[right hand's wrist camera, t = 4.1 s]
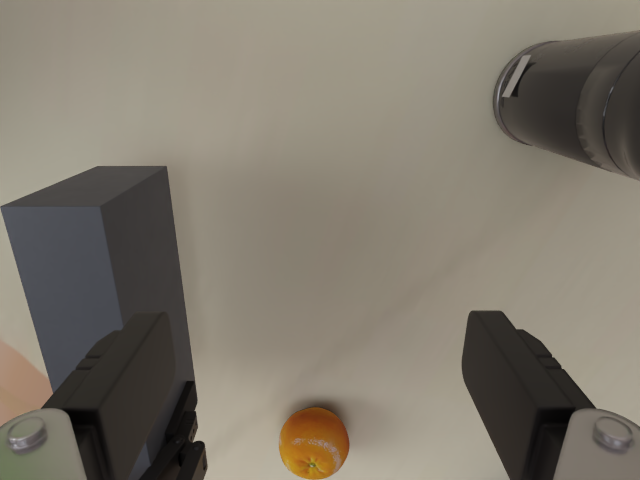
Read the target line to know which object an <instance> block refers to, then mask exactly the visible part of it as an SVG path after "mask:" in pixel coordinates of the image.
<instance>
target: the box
mask: <svg viewBox="0 0 640 480" xmlns="http://www.w3.org/2000/svg"><path fill="white" fill-rule="evenodd" d="M0 208H1V211H2V215H3V218H4V222H5V225H6V229H7V232H8V236H9V239H10V243H11V246H12V250H13V253H14V257H15V261H16V264H17V268H18V271H19V275H20V278H21V282H22V285H23V289H24V292H25V296H26V299H27V303H28V306H29V310H30V313H31V317H32V320H33V324H34V327H35V331H36V334H37V338H38V341H39V345H40V348H41V352H42V355H43V359H44V362H45V366H46V369H47V373H48V376H49V380H50V383H51V387H52V391H53V394H54V392H55V391H56V390H57V389H58V388H59V386H60V385H61V384H62V383H63V382H64V380H65V379H66V378H67V377H68V376H69V374H70V373H71V372H72V371H73V370H75V369H76V366H77V365H78V364H79V362H80V361H81V360H82V359H83V358H85V355H86V354H87V353H88V352H89V351H90V349H91V348H92V347H93V346H94V345H95V343H96V342H97V341H99V340H100V339H102V338H103V337H105V336H107V335H108V334H110V333H111V332H113V331H114V330H122V328H123V327H124V326H125V325H126V323H127V322H128V321H129V319H130V318H131V317H132V316H133V314H134V313H135V312H138V311H165V312H167V313H168V315H169V318H170V323H171V330H172V337H173V344H174V350H175V357H176V373H175V379H174V382H173V385H172V387H171V389H170V391H169V393H168V396H167V398H166V400H165V402H164V404H163V406H162V408H161V410H160V412H159V414H158V417H157V419H156V421H155V423H154V425H153V427H152V429H151V431H150V433H149V435H148V438H147V440H146V442H145V444H144V446H143V448H142V450H141V452H140V454H139V457H138V459H137V461H136V463H135V465H134V467H133V469H132V471H131V473H130V475H129V478H128V480H139V479H140V477H141V476H142V475H143V474H144V472H145V471H146V470H147V469H148V467H149V466H151V465H152V463H153V461H154V460H155V459H156V457H157V456H158V455H159V454H160V452H161V451H162V450H163V449H164V447H165V446H166V445H167V443H166V438H165V431H166V428H167V426H168V424H169V421H170V419H171V417H172V415H173V412H174V410H175V408H176V405H177V403H178V401H179V398H180V396H181V394H182V391H183V389H184V387H185V384H186V382H187V381H195V377H194V370H193V362H192V354H191V347H190V339H189V332H188V324H187V316H186V309H185V301H184V294H183V286H182V279H181V271H180V263H179V256H178V248H177V241H176V233H175V225H174V218H173V210H172V203H171V195H170V188H169V180H168V172H167V166H97V167H94V168H92V169H90V170H87V171H85V172H82V173H80V174H78V175H75V176H73V177H70V178H68V179H66V180H63V181H61V182H58V183H56V184H54V185H51V186H49V187H46V188H44V189H42V190H39V191H37V192H34V193H32V194H29V195H27V196H25V197H22V198H20V199H17V200H15V201H13V202H10V203H8V204H5V205H3V206H1V207H0ZM195 388H196V385H195ZM196 396H197V392H196ZM197 401H198V400H197Z"/></svg>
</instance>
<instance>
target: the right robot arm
mask: <svg viewBox="0 0 640 480" xmlns="http://www.w3.org/2000/svg"><path fill="white" fill-rule="evenodd" d="M493 107H494V114H495V117H496V120H497V122H498V124H499V126H500V128H501V129H502V130H503V132H504V133H505V134H506V135H508V136H509V137H510V138H512V139H513V140H515V141H518V142H520V143H523V144H526V145H531V146H536V147H538V148H541V149H544V150H547V151H550V152H553V153H556V154H559V155H562V156H565V157H568V158H571V159H574V160H577V161H580V162H583V163H586V164H589V165H592V166H595V167H598V168H601V169H604V170H607V171H610V172H614V173H617V174H620V175H623V176H626V177H629V178H632V179H635V180H638V181H640V30H639V31H631V32H624V33H617V34H610V35H603V36H595V37H588V38H581V39H574V40H566V41H550V42H544V43H539V44H536V45H533V46H531V47H529V48H527V49H525V50H523V51H522V52H520V53H519V54H518V55H516V56H515V57H514V58H513V59H512V60H511V61H510V62H509V63H508V65H507V66H506V67H505V69H504V70H503V72H502V73H501V75H500V77H499V79H498V81H497V84H496V87H495V91H494V98H493ZM175 373H176V357H175V350H174V344H173V337H172V330H171V323H170V318H169V315H168V313H167V312H165V311H138V312H135V313H134V314H133V316H132V317H131V318H130V319H129V321H128V322H127V323H126V325H125V326H124V327H123V328H122V330H114V331H113V332H111V333H110V334H108V335H107V336H105V337H103V338H102V339H100V340H99V341H97V342H96V343H95V345H94V346H93V347H92V348H91V349H90V351H89V352H88V353H87V354H86V355H85V358H83V359H82V360H81V361H80V362H79V364H78V365H77V366H76V369H75V370H73V371H72V372H71V373H70V374H69V376H68V377H67V378H66V379H65V380H64V382H63V383H62V384H61V385H60V386H59V388H58V389H57V390H56V391H55V392H54V394H53V395H52V396H51V397H50V398H49V400H48V401H47V402H46V403H45V404H44V406H43V407H42V408H41V409H38V410H34V411H30V412H27V413H24V414H22V415H20V416H17V417H15V418H13V419H12V420H10V421H8V422H7V423H5V424H3V425H2V426H1V427H0V480H128V478H129V475H130V473H131V471H132V469H133V467H134V465H135V463H136V461H137V459H138V457H139V454H140V452H141V450H142V448H143V446H144V444H145V442H146V440H147V438H148V435H149V433H150V431H151V429H152V427H153V425H154V423H155V421H156V419H157V417H158V414H159V412H160V410H161V408H162V406H163V404H164V402H165V400H166V398H167V396H168V393H169V391H170V389H171V387H172V385H173V382H174V379H175ZM462 374H463V379H464V382H465V385H466V387H467V389H468V391H469V393H470V395H471V397H472V399H473V402H474V404H475V406H476V408H477V410H478V412H479V414H480V417H481V419H482V421H483V423H484V425H485V427H486V429H487V431H488V434H489V436H490V438H491V440H492V442H493V444H494V446H495V448H496V451H497V453H498V455H499V457H500V459H501V461H502V463H503V465H504V468H505V470H506V472H507V474H508V476H509V478H510V480H640V427H639V426H638V425H637V424H635V423H633V422H632V421H630V420H629V419H627V418H625V417H623V416H620V415H618V414H616V413H613V412H610V411H606V410H602V409H596V407H595V406H594V405H593V404H592V402H591V401H590V400H589V399H588V398H587V396H586V395H585V394H584V393H583V392H582V390H581V389H580V388H579V387H578V386H577V384H576V383H575V382H574V381H573V380H572V378H571V377H570V376H569V375H568V374H567V372H566V371H565V370H564V369H562V368H561V365H560V364H559V363H558V361H557V360H556V359H555V358H552V354H551V353H550V352H549V351H548V349H547V348H546V347H545V346H544V345H543V343H542V342H541V341H540V340H538V339H537V338H535V337H534V336H532V335H531V334H529V333H528V332H526V331H525V330H523V329H515V327H514V326H513V325H512V323H511V322H510V321H509V319H508V318H507V317H506V316H505V314H504V313H503V312H502V311H471V312H470V313H469V316H468V321H467V328H466V335H465V341H464V348H463V355H462Z"/></svg>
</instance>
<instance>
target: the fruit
mask: <svg viewBox="0 0 640 480" xmlns="http://www.w3.org/2000/svg"><path fill="white" fill-rule="evenodd" d="M279 450H280V455H281V458H282V461H283V463H284V465H285V466H286V467H287V469H288V470H289V471H291V472H292V473H293V474H295V475H297V476H300V477H302V478H306V479H313V480H316V479H323V478H327V477H329V476H331V475H333V474H334V473H336V472H337V471H338V470H339V469H340V468H341V466H342V465H343V463H344V461H345V460H346V458H347V455H348V452H349V438H348V434H347V431H346V428H345V426H344V424H343V423H342V422H341V420H340V419H339V418H338V417H337V416H336V415H335V414H333V413H332V412H330V411H328V410H326V409H323V408H318V407H312V408H307V409H304V410H300V411H298V412H296V413H295V414H293V415H292V416H291V417H290V418H289V419H288V420H287V421H286V423H285V424H284V426H283V428H282V430H281V433H280V437H279Z"/></svg>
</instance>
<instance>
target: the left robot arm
mask: <svg viewBox="0 0 640 480" xmlns="http://www.w3.org/2000/svg"><path fill="white" fill-rule="evenodd" d="M196 405H197V396H196V388H195V381H187V382H186V384H185V387H184V389H183V391H182V394H181V396H180V398H179V401H178V403H177V405H176V408H175V410H174V412H173V415H172V417H171V419H170V421H169V424H168V426H167V428H166V431H165V438H166V443H167V445H166V446H165V447H164V449H163V450H162V451H161V452H160V454H159V455H158V456H157V457H156V459H155V460H154V461H153V463H152V465H151V466H149V467H148V469H147V470H146V471H145V472H144V474H143V475H142V476H141V477H140V479H139V480H203V479H204V476H205V474H206V471H207V467H208V466H207V458H206V450H205V444H204V442H202V441H196V442H194V443H193V440H194V437H195V434H196V431H197V429H198V424H197V416H196V411H194V410H195V408H196Z"/></svg>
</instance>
